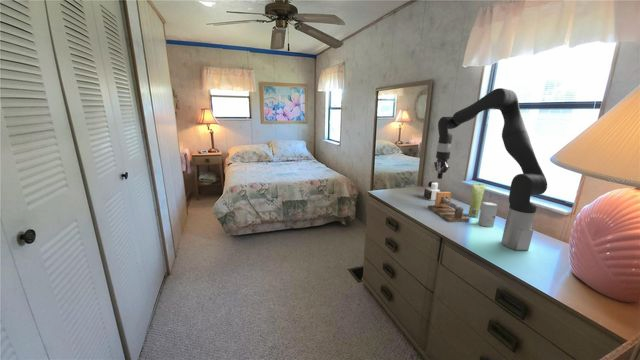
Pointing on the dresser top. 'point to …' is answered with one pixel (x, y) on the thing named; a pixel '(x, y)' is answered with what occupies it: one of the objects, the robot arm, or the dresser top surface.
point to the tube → (476, 199)
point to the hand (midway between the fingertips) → (439, 178)
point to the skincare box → (487, 214)
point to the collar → (438, 198)
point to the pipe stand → (449, 211)
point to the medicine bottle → (431, 191)
